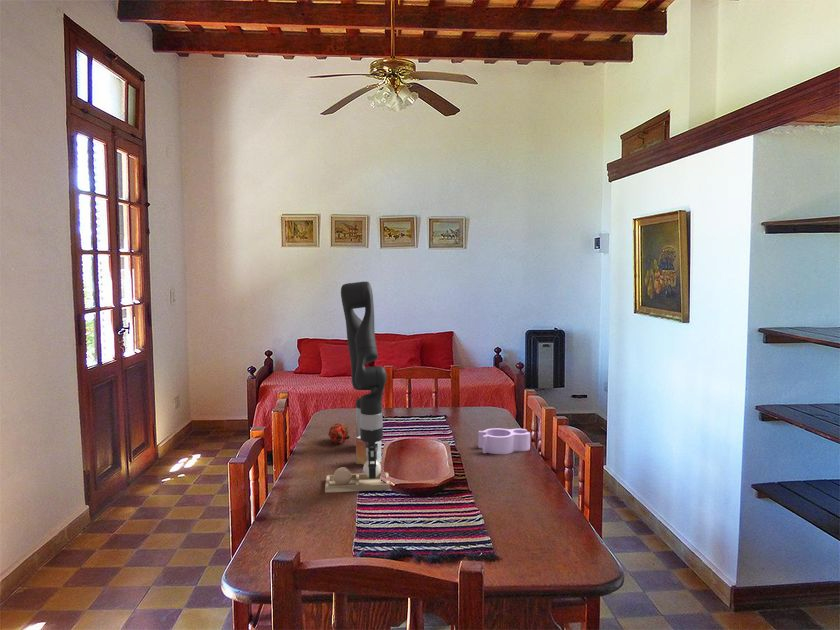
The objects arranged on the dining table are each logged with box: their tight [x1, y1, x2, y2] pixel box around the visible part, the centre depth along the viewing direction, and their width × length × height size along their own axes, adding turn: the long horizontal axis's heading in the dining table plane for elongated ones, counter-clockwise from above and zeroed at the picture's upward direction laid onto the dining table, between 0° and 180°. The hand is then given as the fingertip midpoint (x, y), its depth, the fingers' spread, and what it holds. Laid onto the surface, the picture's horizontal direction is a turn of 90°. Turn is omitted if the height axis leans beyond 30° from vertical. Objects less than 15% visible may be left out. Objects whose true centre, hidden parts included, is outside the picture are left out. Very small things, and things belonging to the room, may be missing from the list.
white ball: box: [362, 460, 382, 477], centre depth 190 cm, size 6×6×6 cm
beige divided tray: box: [324, 471, 391, 494], centre depth 190 cm, size 11×21×2 cm, turn 96°
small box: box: [355, 436, 382, 465], centre depth 211 cm, size 8×6×10 cm
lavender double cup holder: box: [477, 427, 531, 455], centre depth 228 cm, size 20×12×7 cm, turn 99°
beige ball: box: [333, 466, 352, 486], centre depth 189 cm, size 6×6×6 cm
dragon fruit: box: [328, 422, 351, 445], centre depth 237 cm, size 8×8×12 cm
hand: (372, 474), depth 190 cm, fingers closed on white ball, 6 cm apart
